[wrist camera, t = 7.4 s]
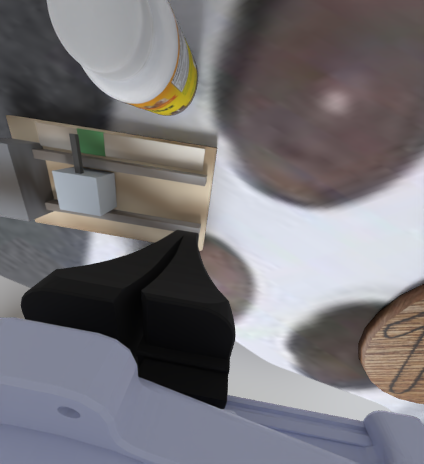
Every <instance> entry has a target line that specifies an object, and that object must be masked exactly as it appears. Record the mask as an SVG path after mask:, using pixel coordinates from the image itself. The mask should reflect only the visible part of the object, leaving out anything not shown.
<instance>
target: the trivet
mask: <svg viewBox="0 0 424 464" xmlns="http://www.w3.org/2000/svg"><path fill="white" fill-rule="evenodd" d="M358 354H359V360H360V362H361V364H362V366H363V368H364V370H365V371H366V373H367V375H368V377H369V378H370V380H371V382H373V383H374V384H375V385H376V386H377V387H378V388H380V389H381V390H382V391H383V392H386V393H388V394H390V395H392V396H394V397H396V398H398V399H402V400H406V401H410V402H415V403H419V404H424V284H422V285H420V286H418V287H416V288H414V289H412V290H410V291H408V292H406V293H404V294H402V295H401V296H399V297H398V298H396V299H395V300H394V301H392V302H391V303H390V304H388V305H387V306H386V307H384V308H383V309H382V310H380V311H379V312H378V313H377V314H376V316H375V317H374V318H373V319H372V320H371V321H370V323H369V324H368V325H367V326H366V327H365V329H364V331H363V334H362V336H361V339H360V341H359V343H358Z"/></svg>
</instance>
